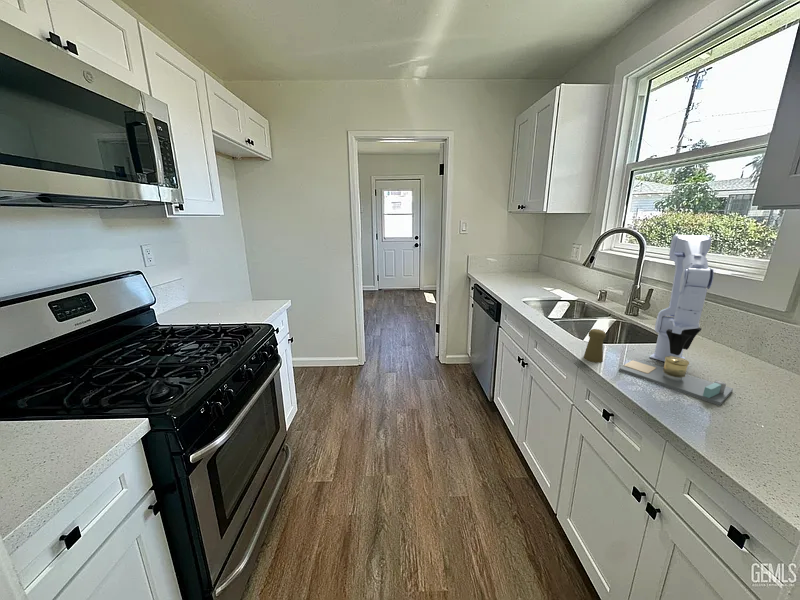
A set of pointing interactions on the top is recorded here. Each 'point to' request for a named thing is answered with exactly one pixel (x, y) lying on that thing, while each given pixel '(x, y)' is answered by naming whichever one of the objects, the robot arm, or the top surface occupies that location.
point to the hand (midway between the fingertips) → (679, 351)
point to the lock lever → (714, 389)
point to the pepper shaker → (595, 346)
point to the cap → (675, 366)
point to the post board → (673, 380)
